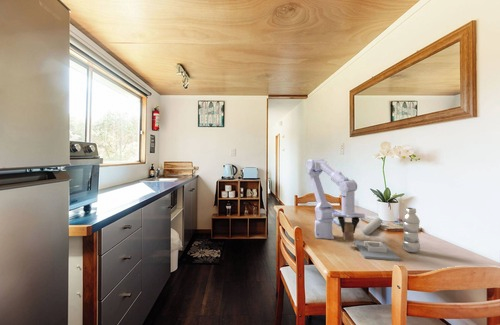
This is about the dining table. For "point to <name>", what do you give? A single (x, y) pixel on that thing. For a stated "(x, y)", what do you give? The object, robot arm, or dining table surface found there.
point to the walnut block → (348, 231)
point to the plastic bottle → (411, 231)
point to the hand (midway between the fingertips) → (348, 232)
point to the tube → (371, 226)
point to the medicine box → (337, 218)
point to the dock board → (376, 250)
